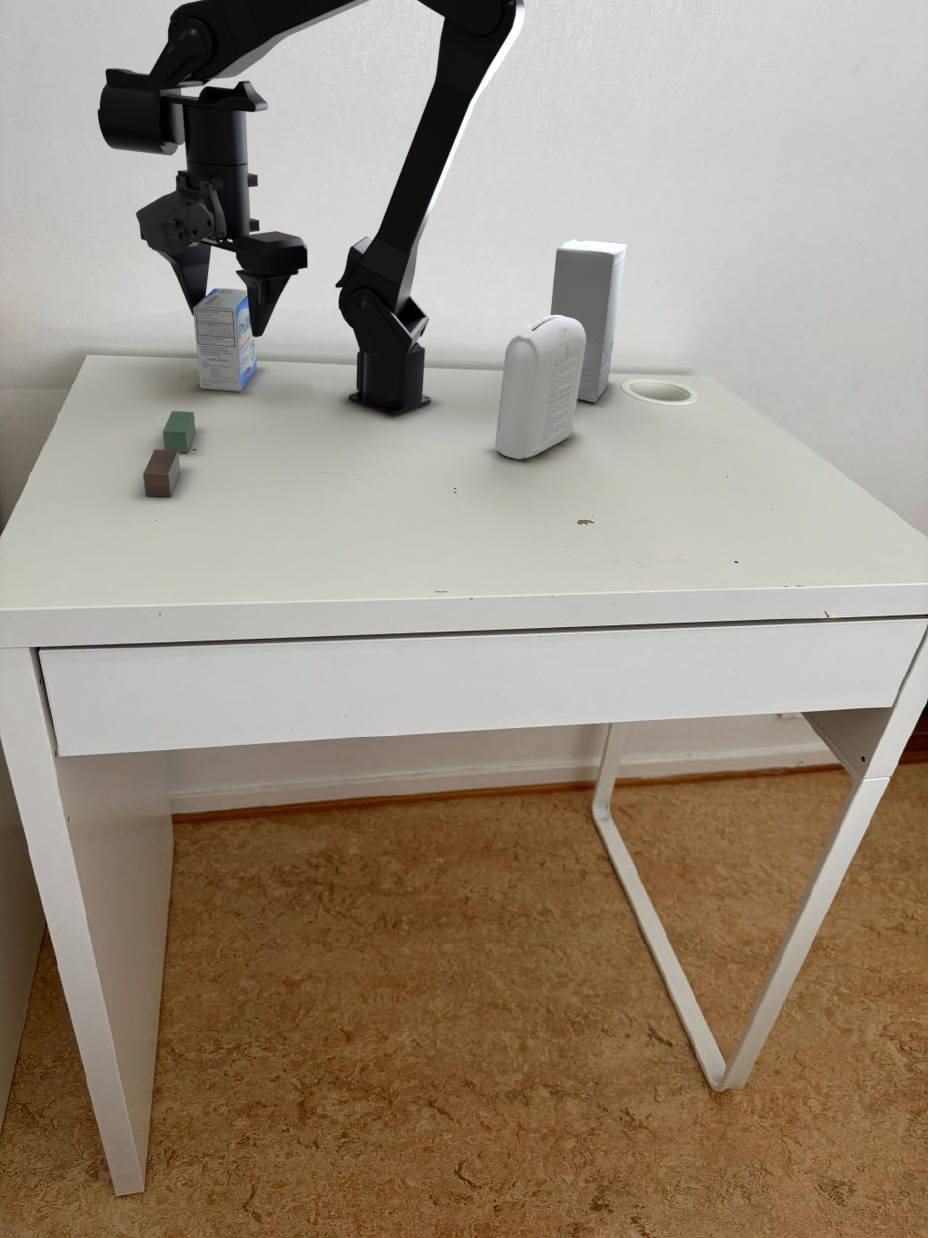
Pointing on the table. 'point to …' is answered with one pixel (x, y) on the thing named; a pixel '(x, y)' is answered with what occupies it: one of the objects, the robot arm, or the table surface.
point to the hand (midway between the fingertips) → (226, 325)
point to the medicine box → (224, 340)
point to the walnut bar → (161, 473)
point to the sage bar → (179, 431)
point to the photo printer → (540, 386)
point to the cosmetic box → (590, 303)
